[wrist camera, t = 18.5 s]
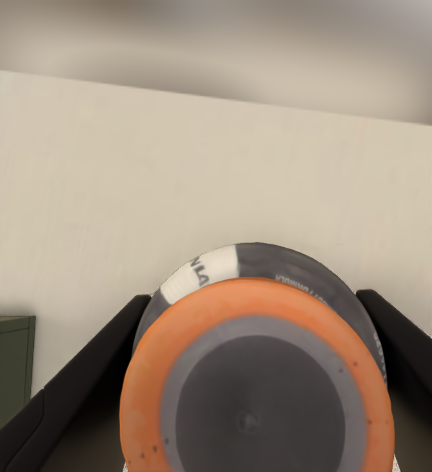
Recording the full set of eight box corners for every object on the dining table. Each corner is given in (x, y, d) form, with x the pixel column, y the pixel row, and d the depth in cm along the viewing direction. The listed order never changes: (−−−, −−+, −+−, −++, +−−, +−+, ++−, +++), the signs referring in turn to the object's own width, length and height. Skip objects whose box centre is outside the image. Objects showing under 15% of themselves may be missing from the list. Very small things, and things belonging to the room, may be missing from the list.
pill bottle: (186, 276, 16) (33, 253, 5) (299, 253, 16) (405, 169, 5) (207, 397, 15) (72, 708, 4) (330, 376, 14) (571, 667, 3)
